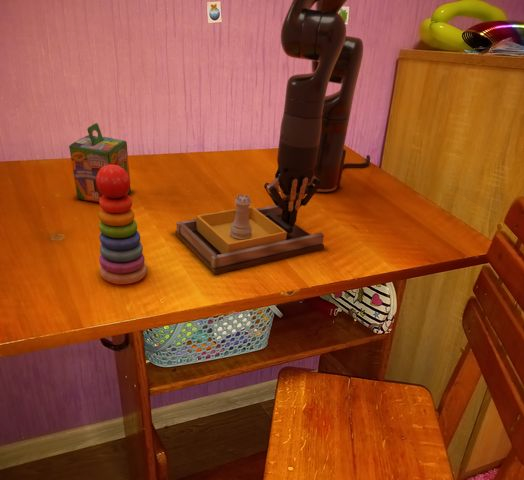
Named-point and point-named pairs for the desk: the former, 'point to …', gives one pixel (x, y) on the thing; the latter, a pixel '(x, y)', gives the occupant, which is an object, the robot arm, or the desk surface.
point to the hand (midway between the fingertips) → (288, 225)
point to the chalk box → (95, 161)
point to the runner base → (244, 258)
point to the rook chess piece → (241, 219)
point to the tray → (263, 226)
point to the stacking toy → (118, 229)
